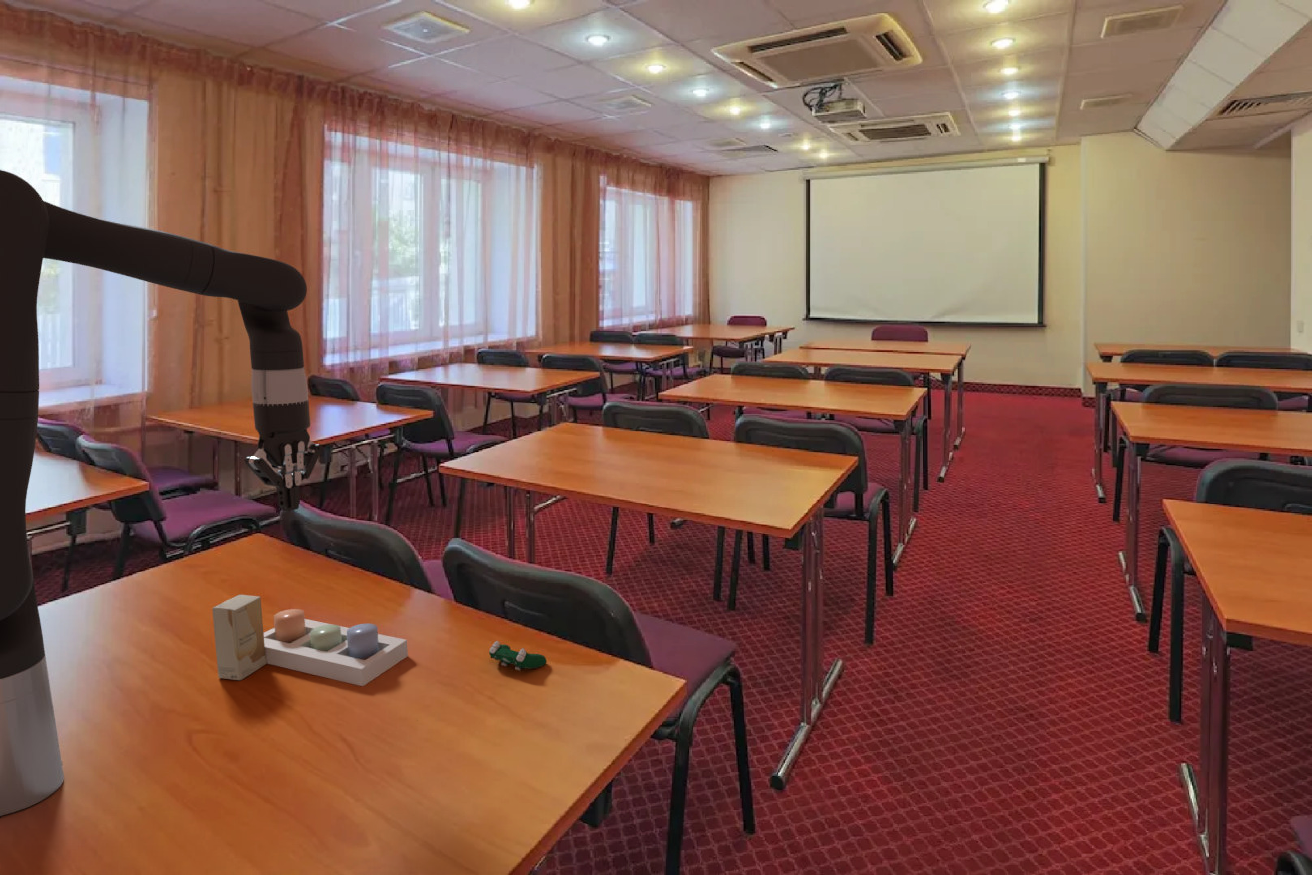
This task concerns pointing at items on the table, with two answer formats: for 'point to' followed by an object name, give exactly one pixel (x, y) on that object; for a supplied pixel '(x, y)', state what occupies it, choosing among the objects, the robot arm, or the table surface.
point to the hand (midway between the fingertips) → (290, 509)
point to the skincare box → (239, 637)
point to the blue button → (362, 641)
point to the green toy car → (516, 657)
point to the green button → (325, 637)
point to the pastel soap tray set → (333, 656)
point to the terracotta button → (289, 625)
